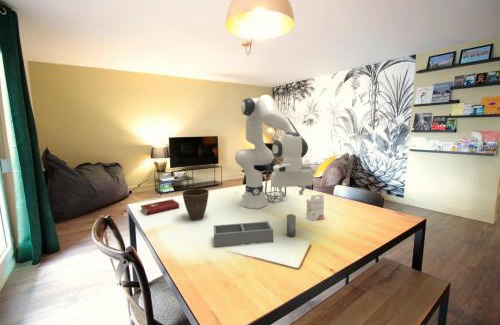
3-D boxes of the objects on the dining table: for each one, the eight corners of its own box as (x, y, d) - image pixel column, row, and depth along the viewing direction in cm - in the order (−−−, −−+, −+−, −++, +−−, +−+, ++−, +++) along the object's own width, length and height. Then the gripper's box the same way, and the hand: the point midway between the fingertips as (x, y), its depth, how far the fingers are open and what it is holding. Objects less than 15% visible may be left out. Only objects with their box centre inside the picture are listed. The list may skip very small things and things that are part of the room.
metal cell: (285, 233, 117) (285, 213, 116) (293, 232, 118) (294, 212, 116) (288, 237, 113) (288, 216, 111) (296, 236, 114) (297, 215, 112)
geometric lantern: (261, 198, 176) (261, 152, 171) (279, 196, 182) (280, 151, 178) (271, 204, 161) (272, 154, 157) (290, 202, 168) (292, 153, 164)
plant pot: (203, 223, 130) (202, 196, 128) (178, 222, 133) (177, 194, 130) (213, 214, 144) (212, 189, 142) (190, 212, 147) (189, 188, 145)
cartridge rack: (213, 237, 114) (213, 225, 113) (267, 232, 118) (267, 221, 118) (214, 247, 104) (214, 234, 103) (273, 241, 109) (273, 229, 108)
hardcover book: (179, 208, 156) (179, 202, 155) (146, 216, 143) (146, 210, 142) (172, 204, 165) (172, 198, 165) (140, 211, 152) (140, 205, 151)
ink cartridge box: (318, 216, 140) (319, 192, 138) (323, 219, 135) (324, 194, 133) (305, 217, 138) (306, 193, 136) (310, 221, 133) (311, 195, 131)
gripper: (310, 165, 115) (309, 192, 117) (269, 166, 112) (269, 194, 114) (315, 167, 109) (315, 195, 111) (273, 168, 106) (273, 198, 107)
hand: (291, 195), depth 112 cm, fingers open, 8 cm apart
